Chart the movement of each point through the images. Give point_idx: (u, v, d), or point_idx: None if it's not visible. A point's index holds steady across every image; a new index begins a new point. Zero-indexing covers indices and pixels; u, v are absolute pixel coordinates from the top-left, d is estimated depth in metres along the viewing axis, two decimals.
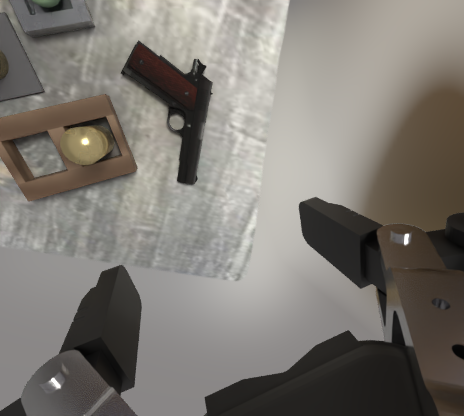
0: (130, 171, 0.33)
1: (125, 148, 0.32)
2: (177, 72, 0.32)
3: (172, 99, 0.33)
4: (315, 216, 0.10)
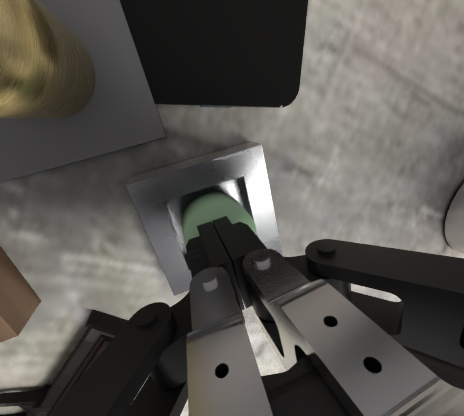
0: None
1: None
2: None
3: (50, 412, 0.15)
4: (218, 236, 0.10)
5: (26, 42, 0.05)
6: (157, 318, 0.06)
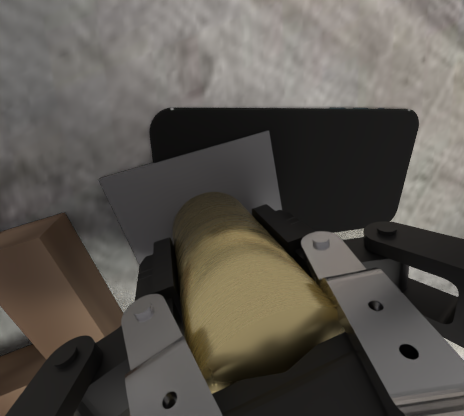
0: None
1: None
2: None
3: None
4: (262, 223, 0.10)
5: None
6: (78, 353, 0.06)
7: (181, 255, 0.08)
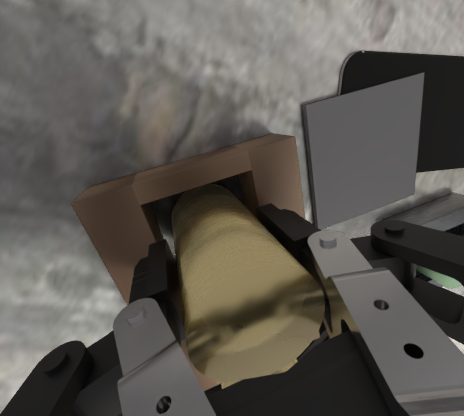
0: None
1: None
2: None
3: None
4: (267, 222, 0.10)
5: None
6: (68, 359, 0.06)
7: (179, 236, 0.10)
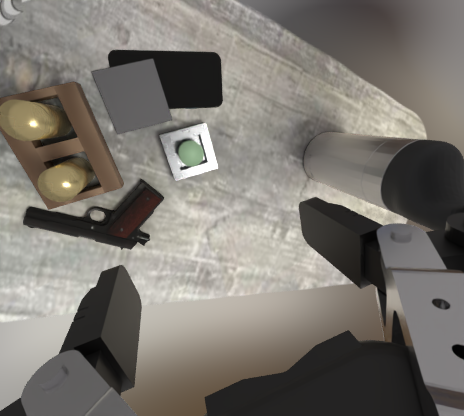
0: (47, 204, 0.33)
1: (72, 201, 0.34)
2: (139, 224, 0.38)
3: (117, 217, 0.37)
4: (315, 217, 0.10)
5: (52, 124, 0.27)
6: None
7: None
